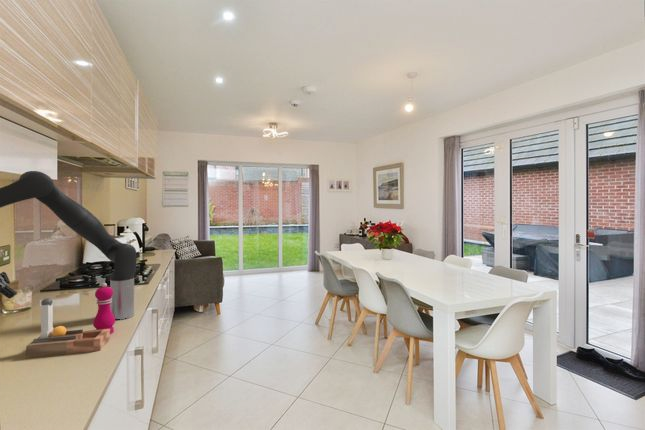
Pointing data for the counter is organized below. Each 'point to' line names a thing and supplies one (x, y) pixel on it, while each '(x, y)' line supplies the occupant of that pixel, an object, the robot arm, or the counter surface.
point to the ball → (59, 331)
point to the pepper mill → (104, 309)
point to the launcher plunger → (46, 318)
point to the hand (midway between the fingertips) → (13, 296)
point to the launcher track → (69, 343)
